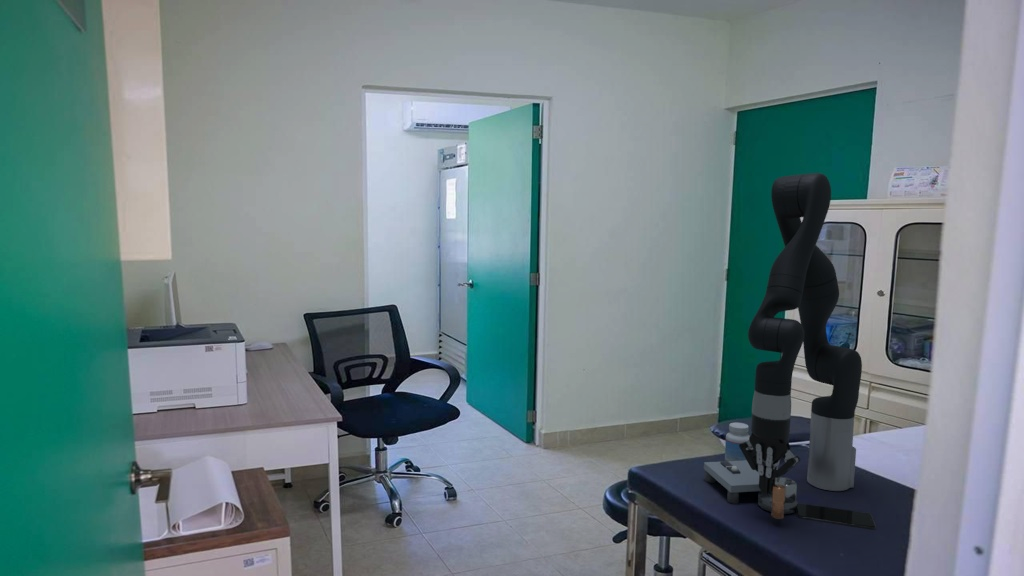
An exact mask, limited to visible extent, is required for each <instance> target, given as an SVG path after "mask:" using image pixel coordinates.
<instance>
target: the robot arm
mask: <svg viewBox="0 0 1024 576" xmlns="http://www.w3.org/2000/svg"><path fill="white" fill-rule="evenodd" d="M770 196H771V204H772V209H773V212H774V217H775V219H776V221H777V225H778V229H779V231H780V235H781V238H782V241H783V244H784V248H783V249H782V250H781V252H780V253H779V254H778V255H777V257H776V258H775V259H774V261H773V263H772V266H771V268H770V271H769V275H768V280H767V284H766V285H767V286H766V290H765V294H764V297H763V300H762V302H761V304H760V306H759V308H758V310H757V311H756V314H755V315H754V316H753V318H752V320H751V323H750V325H749V327H748V331H747V337H748V342H749V344H750V345H751V347H752V348H754V349H756V350H759V351H767V352H774V353H779V354H781V357H780V359H778V360H771V361H770V360H769V361H768V360H767V361H761V362H759V363H758V364H757V365H756V367H755V375H754V376H755V378H754V379H755V380H754V393H753V396H752V397H753V398H752V403H751V404H752V405H751V422H750V423H751V424H750V432H751V434H750V437H749V440H748V441H746V442H743V443H741V444H739V447H740V449H741V451H742V453H743V454H744V456H745V458H746V460H747V462H748V464H749V465H750V467H751V469H752V470H756V471H757V472H758V473H759V489H761V492H762V493H765V494H770V493H771V492H772V491H773V485H774V484H775V478H778V477H783V476H784V475H786V474H787V473H788V472H789V471H790V470H791V469H792V468H793V467H795V466H796V465H797V464H798V463H799V462H800V461H801V457H800V456H799V455H794V454H793V452H792V451H791V445H790V443H789V442H790V441H789V442H788V440H789V439H790V434H791V433H790V432H791V430H790V429H791V416H792V415H791V414H792V384H793V383H792V380H793V371H794V368H795V364H796V361H797V359H798V356H799V353H800V351H801V349H802V346H803V352H804V353H803V354H804V362H805V369H806V372H807V374H808V376H809V377H810V378H811V379H812V380H814V381H816V382H818V383H822V384H825V385H830V386H832V391H831V392H832V393H831V395H827V396H819V397H816V398H815V397H814V399H812V401H811V408H810V427H809V428H810V429H809V441H808V442H809V443H808V456H807V457H808V459H807V474H806V475H807V476H806V481H807V483H808V484H809V485H811V486H813V487H815V488H818V489H821V490H826V491H831V492H832V491H833V492H843V491H847V490H849V489H851V488H854V486H855V485H854V484H855V474H856V473H855V471H856V470H855V469H856V457H857V455H856V454H857V449H856V447H855V446H854V445H853V444H854V443H853V441H854V426H855V414H856V408H857V406H858V402H859V396H860V395H859V394H860V386H861V379H862V371H863V370H862V369H863V362H862V357H861V355H860V353H859V352H858V350H856V349H852V348H850V347H843V346H838V345H834V344H830V343H829V339H828V335H827V334H828V333H827V324H828V322H829V321H828V320H829V319H830V318H831V315H832V313H833V312H834V310H835V309H836V307H837V304H838V301H839V299H840V288H839V283H838V278H837V272H836V269H835V266H834V264H833V263H832V261H831V260H830V258H829V257H828V256H827V255H826V254H825V253H824V252H823V251H822V250H821V248H820V247H818V246H817V242H818V240H819V237H820V234H821V232H822V228H823V227H824V223H825V220H826V218H827V215H828V212H829V209H830V204H831V200H832V187H831V183H830V180H829V178H828V177H827V176H826V174H824V173H821V172H815V173H814V172H812V173H802V174H801V173H800V174H792V175H786V176H779V177H778V178H776V179H775V180H774V181H773V183H772V186H771V195H770ZM801 218H802V220H801ZM796 309H797V310H798V315H799V321H798V320H797V319H792V318H791V319H790V318H782V317H775V316H777V314H778V313H782V312H787V311H794V310H796ZM784 457H785V458H784ZM782 459H784V460H783V461H784V463H783V464H782V465H781V466H780V467H779V465H780V462H781V460H782Z"/></svg>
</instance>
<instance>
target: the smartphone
mask: <svg viewBox="0 0 1024 576" xmlns="http://www.w3.org/2000/svg"><path fill="white" fill-rule="evenodd" d="M795 514H796V517H797V518H798V519H803V520H808V521H809V520H810V521H815V522H821V523H827V524H834V525H839V526H840V525H841V526H847V527H853V528H860V529H864V530H866V529H867V530H876V529H877V528H876V523H875V520H874V517H873V515H872V514H871V513H869V512H863V511H856V510H848V509H842V508H835V507H829V506H821V505H814V504H808V503H807V504H806V503H799V502H797V511H796V513H795Z"/></svg>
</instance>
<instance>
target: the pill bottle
mask: <svg viewBox="0 0 1024 576" xmlns="http://www.w3.org/2000/svg"><path fill="white" fill-rule="evenodd" d="M728 430H729V432H728V433H726V435H725V448H724V461H743V460H746V458H745V456H744V454H743V453H742V451H741V449H740V447H739V444H741V443H743V442H746V441H748V440H749V437H750V436H751V434H750V435H749V432H750V431H749V425H748V424H747V423H743V422H731V423H729V426H728Z"/></svg>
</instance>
